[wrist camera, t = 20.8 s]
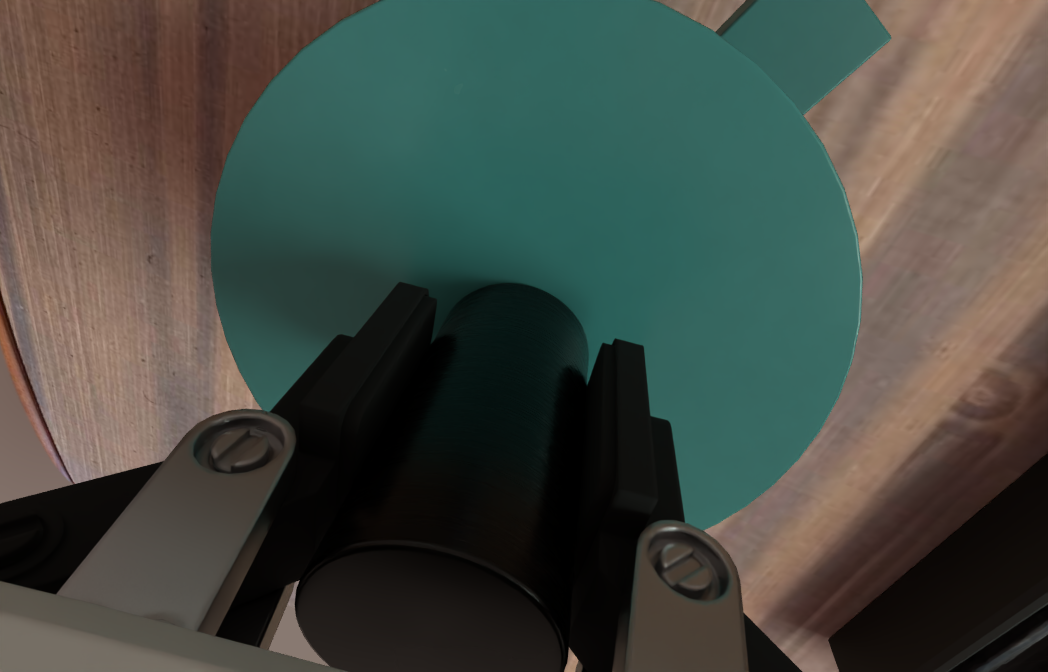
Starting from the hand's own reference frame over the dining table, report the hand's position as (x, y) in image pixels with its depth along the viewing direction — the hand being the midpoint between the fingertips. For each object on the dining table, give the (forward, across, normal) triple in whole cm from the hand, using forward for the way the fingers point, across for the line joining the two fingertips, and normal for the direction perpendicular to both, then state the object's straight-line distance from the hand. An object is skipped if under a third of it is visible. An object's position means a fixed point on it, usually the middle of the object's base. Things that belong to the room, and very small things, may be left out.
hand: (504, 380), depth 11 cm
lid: (+2, 0, 0) cm, 2 cm away
